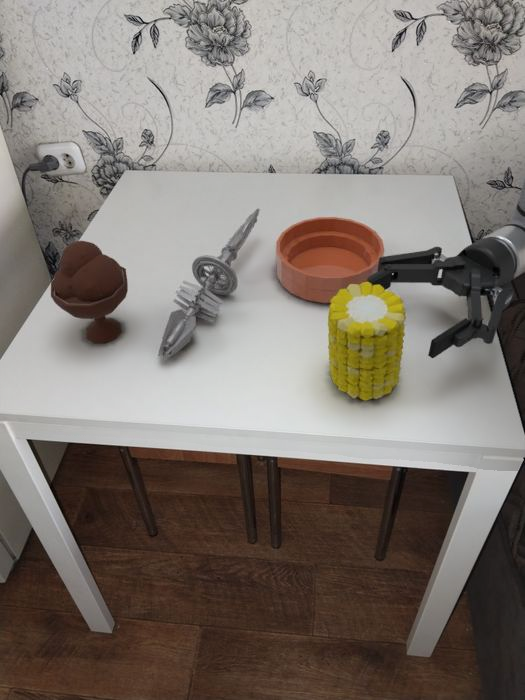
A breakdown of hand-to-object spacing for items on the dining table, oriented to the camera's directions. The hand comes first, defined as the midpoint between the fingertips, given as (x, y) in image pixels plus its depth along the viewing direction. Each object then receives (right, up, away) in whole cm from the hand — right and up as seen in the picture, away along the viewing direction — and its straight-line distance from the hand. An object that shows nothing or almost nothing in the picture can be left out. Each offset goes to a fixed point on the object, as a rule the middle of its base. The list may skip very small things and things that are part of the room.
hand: (392, 321), depth 78 cm
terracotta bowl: (-6, +9, +21) cm, 24 cm away
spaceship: (-24, +5, +18) cm, 31 cm away
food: (-3, -8, +4) cm, 9 cm away
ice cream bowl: (-41, -1, +13) cm, 43 cm away
